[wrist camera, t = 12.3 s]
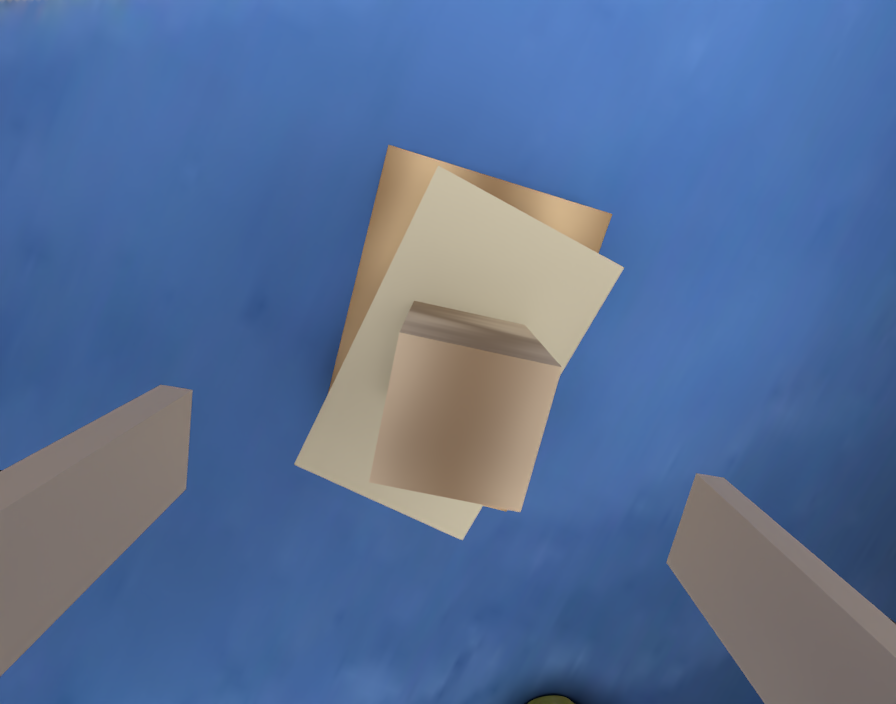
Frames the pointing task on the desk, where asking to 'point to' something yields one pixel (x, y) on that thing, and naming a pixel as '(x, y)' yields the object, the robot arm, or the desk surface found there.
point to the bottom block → (398, 206)
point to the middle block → (461, 288)
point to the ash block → (464, 407)
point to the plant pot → (551, 700)
